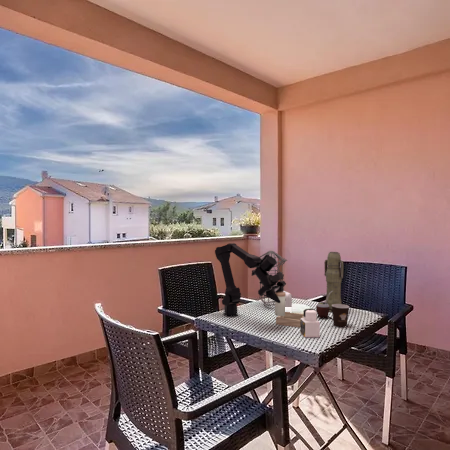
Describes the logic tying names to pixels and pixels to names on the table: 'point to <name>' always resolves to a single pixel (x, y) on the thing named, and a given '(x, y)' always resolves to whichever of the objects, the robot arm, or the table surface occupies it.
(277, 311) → the ceramic jar
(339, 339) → the table surface
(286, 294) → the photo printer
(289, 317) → the open box
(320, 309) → the mate gourd
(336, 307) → the coffee mug
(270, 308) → the geometric lantern
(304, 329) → the medicine bottle
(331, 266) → the stone statue
